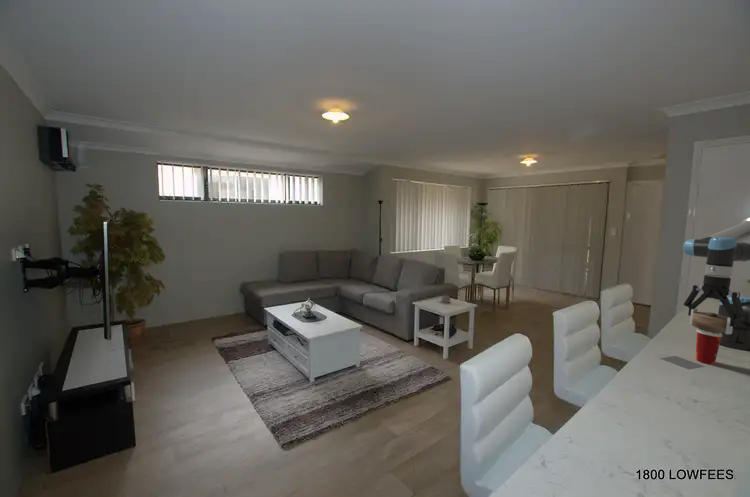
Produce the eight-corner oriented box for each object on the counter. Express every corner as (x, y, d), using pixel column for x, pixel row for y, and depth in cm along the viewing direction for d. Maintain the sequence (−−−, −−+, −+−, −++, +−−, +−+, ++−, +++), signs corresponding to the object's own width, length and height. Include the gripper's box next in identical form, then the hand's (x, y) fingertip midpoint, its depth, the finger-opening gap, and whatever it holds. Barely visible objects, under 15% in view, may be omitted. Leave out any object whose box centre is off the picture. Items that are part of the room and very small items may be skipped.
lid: (702, 322, 143) (703, 308, 143) (736, 331, 133) (738, 316, 132) (685, 324, 140) (687, 310, 139) (719, 333, 129) (721, 318, 129)
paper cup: (723, 368, 133) (728, 334, 132) (700, 365, 135) (705, 332, 133) (708, 359, 141) (713, 327, 140) (687, 357, 143) (691, 325, 141)
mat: (675, 357, 143) (675, 355, 143) (704, 367, 133) (704, 366, 133) (659, 359, 139) (659, 358, 139) (688, 370, 130) (688, 369, 130)
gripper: (677, 270, 144) (670, 320, 146) (752, 282, 122) (743, 340, 124) (688, 270, 146) (681, 319, 149) (764, 281, 124) (754, 338, 127)
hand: (709, 328), depth 136 cm, fingers closed on lid, 11 cm apart
